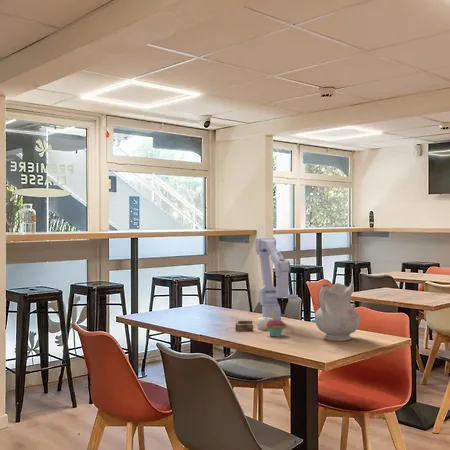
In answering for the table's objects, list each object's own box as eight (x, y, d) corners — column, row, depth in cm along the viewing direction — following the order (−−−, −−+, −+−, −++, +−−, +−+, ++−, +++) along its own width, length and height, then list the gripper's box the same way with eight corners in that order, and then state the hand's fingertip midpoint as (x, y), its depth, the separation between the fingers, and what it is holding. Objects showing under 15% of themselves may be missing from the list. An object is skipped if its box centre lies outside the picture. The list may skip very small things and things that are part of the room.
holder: (252, 326, 278) (252, 320, 278) (252, 330, 267) (252, 324, 267) (235, 326, 278) (235, 320, 278) (235, 330, 267) (235, 324, 267)
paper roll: (271, 327, 275) (271, 316, 275) (272, 330, 269) (272, 319, 269) (257, 327, 276) (257, 317, 276) (258, 330, 269) (258, 319, 269)
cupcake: (272, 337, 250) (272, 310, 250) (262, 334, 258) (262, 308, 258) (288, 335, 254) (288, 309, 254) (278, 332, 262) (278, 306, 262)
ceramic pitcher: (347, 348, 233) (351, 288, 232) (303, 339, 244) (307, 282, 243) (364, 339, 252) (368, 283, 251) (323, 331, 262) (326, 278, 261)
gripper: (267, 286, 268) (268, 315, 268) (298, 286, 268) (298, 315, 268) (267, 285, 275) (267, 313, 275) (297, 285, 275) (297, 313, 275)
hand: (282, 314), depth 272 cm, fingers closed
